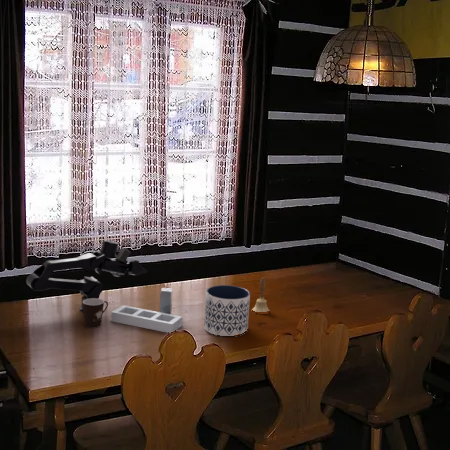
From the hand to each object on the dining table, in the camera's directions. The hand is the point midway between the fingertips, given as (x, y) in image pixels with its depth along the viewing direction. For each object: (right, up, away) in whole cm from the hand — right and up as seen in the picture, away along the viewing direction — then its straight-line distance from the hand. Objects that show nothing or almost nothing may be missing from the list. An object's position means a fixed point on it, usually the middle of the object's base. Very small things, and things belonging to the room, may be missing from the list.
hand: (141, 271), depth 311 cm
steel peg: (+12, -18, -11) cm, 24 cm away
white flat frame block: (+5, -20, -21) cm, 30 cm away
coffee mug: (-16, -20, -26) cm, 36 cm away
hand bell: (+54, -18, +2) cm, 57 cm away
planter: (+38, -23, -22) cm, 49 cm away
